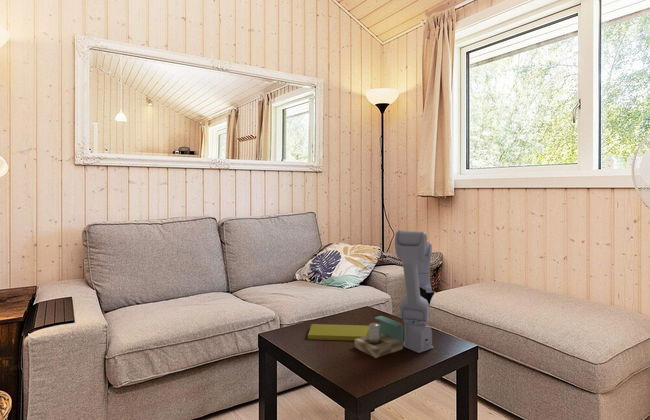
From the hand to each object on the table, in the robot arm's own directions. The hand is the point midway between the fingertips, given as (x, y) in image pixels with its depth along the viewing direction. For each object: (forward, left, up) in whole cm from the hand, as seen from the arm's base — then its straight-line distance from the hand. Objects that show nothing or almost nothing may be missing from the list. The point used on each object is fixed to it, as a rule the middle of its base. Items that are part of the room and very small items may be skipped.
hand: (422, 306), depth 158 cm
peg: (-2, +27, -10) cm, 29 cm away
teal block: (-2, +20, -7) cm, 22 cm away
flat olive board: (+17, +28, -11) cm, 34 cm away
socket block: (-2, +25, -10) cm, 27 cm away
